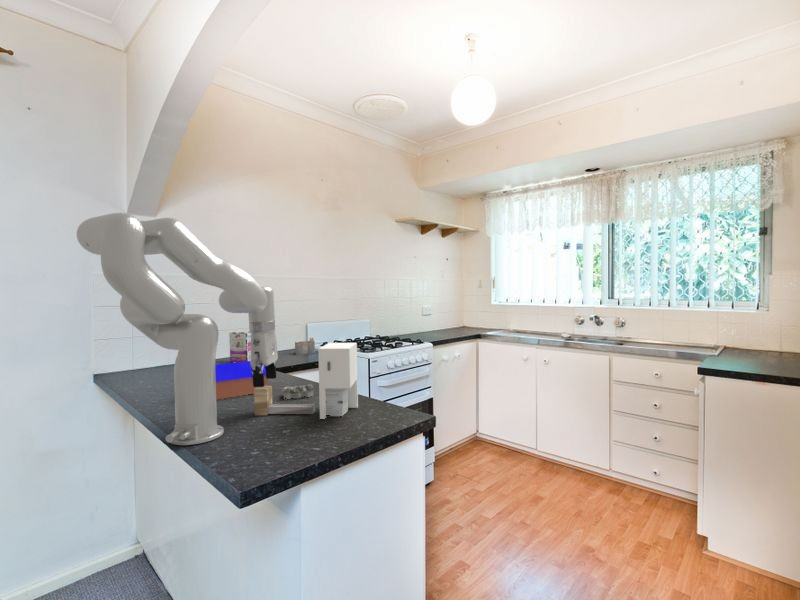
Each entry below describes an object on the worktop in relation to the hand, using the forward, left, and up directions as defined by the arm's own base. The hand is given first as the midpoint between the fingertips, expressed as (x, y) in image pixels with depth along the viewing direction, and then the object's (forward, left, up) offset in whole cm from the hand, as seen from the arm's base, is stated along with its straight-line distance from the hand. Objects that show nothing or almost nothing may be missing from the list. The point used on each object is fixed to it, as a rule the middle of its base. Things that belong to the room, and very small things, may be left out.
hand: (265, 382), depth 123 cm
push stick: (-1, -6, -9) cm, 11 cm away
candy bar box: (+89, +49, -10) cm, 102 cm away
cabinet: (0, -23, -9) cm, 25 cm away
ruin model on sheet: (+118, +23, -10) cm, 121 cm away
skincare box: (-1, -22, -10) cm, 24 cm away
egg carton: (+19, -4, -10) cm, 22 cm away
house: (+24, +20, -10) cm, 33 cm away
